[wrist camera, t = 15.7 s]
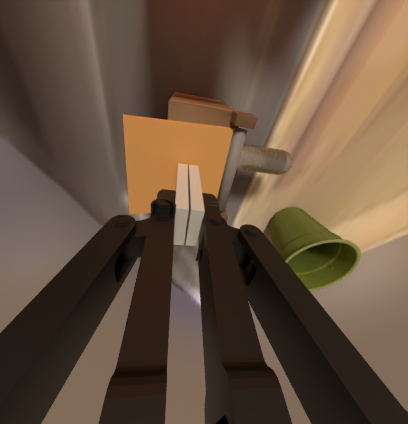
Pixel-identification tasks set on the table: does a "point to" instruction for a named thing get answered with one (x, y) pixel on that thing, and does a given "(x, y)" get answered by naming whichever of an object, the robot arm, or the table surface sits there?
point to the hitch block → (207, 114)
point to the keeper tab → (178, 157)
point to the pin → (264, 160)
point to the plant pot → (312, 249)
